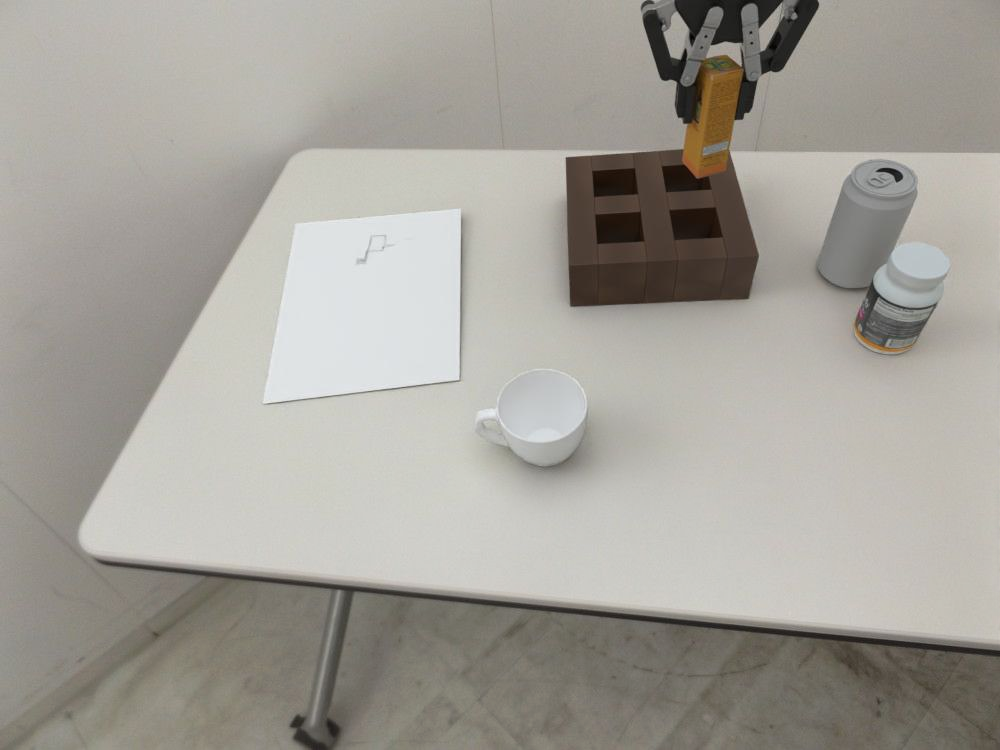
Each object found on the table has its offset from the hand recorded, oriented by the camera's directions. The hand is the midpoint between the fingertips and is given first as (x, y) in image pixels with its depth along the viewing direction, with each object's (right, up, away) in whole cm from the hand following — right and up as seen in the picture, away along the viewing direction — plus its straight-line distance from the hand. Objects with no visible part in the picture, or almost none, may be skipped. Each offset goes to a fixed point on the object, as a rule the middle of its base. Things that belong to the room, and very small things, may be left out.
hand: (711, 116), depth 62 cm
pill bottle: (+18, -19, +6) cm, 27 cm away
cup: (-16, -30, +2) cm, 34 cm away
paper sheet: (-34, -15, +16) cm, 40 cm away
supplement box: (+1, -3, +4) cm, 5 cm away
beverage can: (+18, -12, +11) cm, 24 cm away
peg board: (-2, -8, +17) cm, 19 cm away
